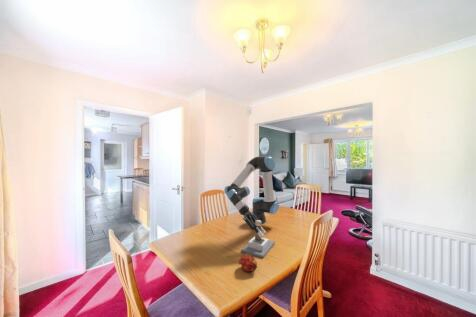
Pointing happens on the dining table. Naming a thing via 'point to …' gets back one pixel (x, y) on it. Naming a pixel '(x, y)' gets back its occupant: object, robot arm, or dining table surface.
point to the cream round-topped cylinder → (258, 224)
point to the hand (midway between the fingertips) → (263, 234)
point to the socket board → (258, 252)
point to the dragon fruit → (248, 263)
